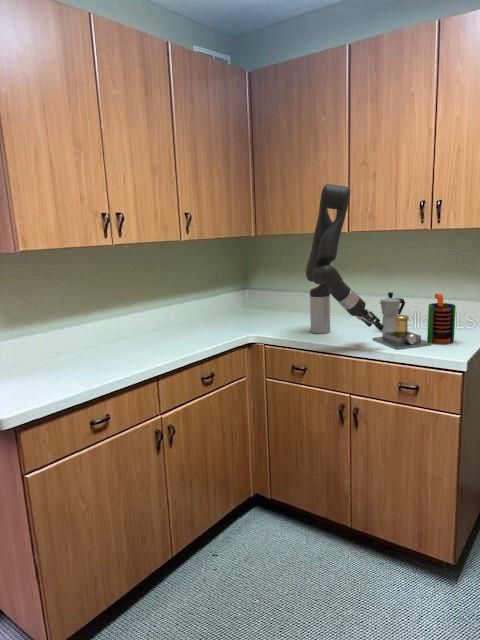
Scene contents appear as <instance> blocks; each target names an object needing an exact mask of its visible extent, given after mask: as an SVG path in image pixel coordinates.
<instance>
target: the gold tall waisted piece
mask: <svg viewBox="0 0 480 640" xmlns="http://www.w3.org/2000/svg"><path fill="white" fill-rule="evenodd" d="M409 318H410V317H409V315H405V314H400V315H395V316H394V319H395V335H394V337H397V338H401V337H406V335H407V331H408V324H409V322H408V320H410V319H409Z"/></svg>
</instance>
